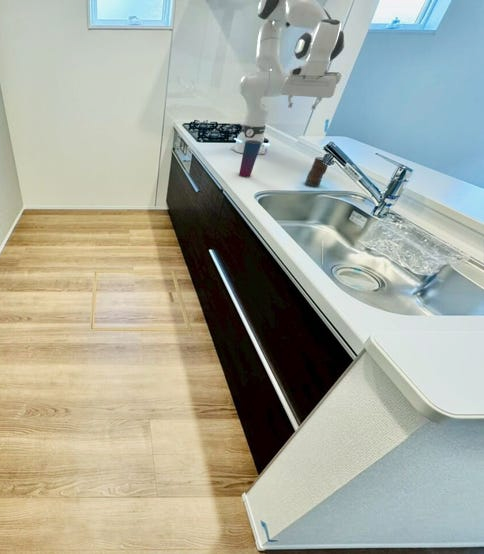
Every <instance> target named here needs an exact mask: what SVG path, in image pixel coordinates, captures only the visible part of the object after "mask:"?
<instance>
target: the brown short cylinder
mask: <svg viewBox="0 0 484 554" xmlns="http://www.w3.org/2000/svg"><path fill="white" fill-rule="evenodd" d="M323 157H324V156H317V157H315V159H314V161H313V164H312V165H314V166H317V167H327V166H328V165H325V164H323V163H322V160H323ZM327 168H328V167H327Z"/></svg>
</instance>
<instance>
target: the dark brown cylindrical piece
mask: <svg viewBox="0 0 484 554" xmlns="http://www.w3.org/2000/svg"><path fill="white" fill-rule="evenodd" d="M328 168H329V165H327V167H317V166H314V165H313V164H312V165H311V168H310V170H308V173H307V175H306V179H305V182H304V185H305V186H307V187H311V188H319V187H320V185H321V183H322V180H323V177H324V175H325V174H326V172H327V171H328V170H327V169H328Z"/></svg>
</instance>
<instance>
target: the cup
mask: <svg viewBox="0 0 484 554" xmlns="http://www.w3.org/2000/svg"><path fill="white" fill-rule="evenodd" d="M261 143H262V142H260V141H256V140H246V141H245V146H244V151H243V153H242V156H241V162H240V168H239V173H238V176H240V177H242V178H251V175H252V171H253V169H254V166H255V163H256V161H257V157H258V155H259V154H258V152H259V149H260V146H261Z"/></svg>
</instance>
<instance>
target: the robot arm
mask: <svg viewBox="0 0 484 554" xmlns="http://www.w3.org/2000/svg"><path fill="white" fill-rule="evenodd" d="M257 5H258V6H257V17H258V18H259V19H262V20H263V21H265V20H266V21H265V22H263V24H262V25H261V26H260V28H259V32H258V36H257V41H256V49H255V65H256V67H257V68H258V69H259V70H261V71H251V72H248V73H245V74H244V75H243V76H242V77H241V79H240V81H239V84H238V90H239V93H240V94H241V96H242V97H243V99H244V101H245V103H246V113H245V118H244V123H243V124H242V127H241V132H240V133H238V135H237V137H234V140H235V144H234V146H232V147H231V150H233V151H234V152H236V153H239V154H243V151H244V146H245V141H246V140H256V141H260V142H262V143H261V146H260V149H259V152H258V155H264V154H265V152H266V149H267V147H266V146H269V147H270V143H266V142H264V141H265V131H266V123H267V120H268V117H269V111H270V110H269V108H268V106H267V105H266V104H264V103H262V98H263V97H265V98H266V97H268V98H272V97H273V98H277V97H281V96H287V101H288V105H287V108H291V109H292V108H293V105H294V102H292V99H293V97H308V98H317V101H316V103H314V104H312V105H311V106H312V107H311V108H310V109H311V110H313V111H314V110H316V109H317V106H318V105H319V104H320V103H321V102H322V100H323V99H324V98H325V99H331V98H332V97H333V96H334V95H335V92H336V88H337V84H339V83H340V81H341V79H342V73H341V72H340V71H339V70H335V71H334V70H327V69H328V67H329V64H330V62H332V61H333V60H334V59H336V58H338V56H339V55H341V53H342V52H343V50H344V48H345V46H346V36H345V32H344V31H343V30H341V26H342V22H341V21H340V20H339V19H333V18H332V17H331V15H330V14H329V12H328V10H326V9H325V8H324V7H323V6H322V5H321V4H320V3H319V2H318V1H317V0H259V2H258V4H257ZM289 27H294V28H301V29H306V30H307V29H308V30H309V31H307V32H305V33H303V34H301V35H300V37H299V38H298V39H297V41H296V44H295V46H294V51H293V52H294V56H295V58H296V59H297V60H300V61H304V63H303V65H300V66H297V67H295V68H291V69H290V70H289V72H288V71H287V70H286V69H285V68H284V66H283V65H282V62H281V40H282V39H281V36H282V30H283V28H286V29H287V28H289Z"/></svg>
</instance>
